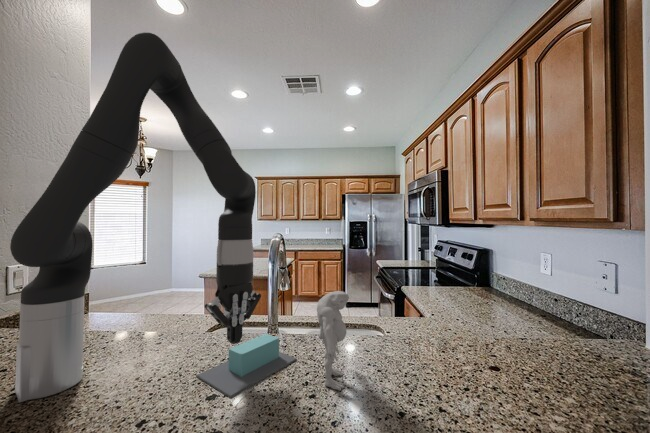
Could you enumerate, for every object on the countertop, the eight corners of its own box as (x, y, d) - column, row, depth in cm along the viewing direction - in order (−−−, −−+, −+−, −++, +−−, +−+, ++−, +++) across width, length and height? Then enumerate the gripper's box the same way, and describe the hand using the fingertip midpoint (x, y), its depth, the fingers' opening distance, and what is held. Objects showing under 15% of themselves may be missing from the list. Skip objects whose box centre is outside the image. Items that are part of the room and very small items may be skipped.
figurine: (354, 409, 48) (354, 304, 48) (316, 409, 47) (315, 304, 48) (346, 359, 65) (345, 283, 66) (317, 359, 65) (317, 283, 66)
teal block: (241, 354, 58) (279, 337, 66) (228, 349, 60) (267, 333, 69) (241, 376, 57) (279, 356, 66) (228, 370, 60) (267, 351, 69)
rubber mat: (230, 397, 51) (230, 395, 51) (196, 376, 58) (196, 375, 58) (296, 360, 65) (296, 358, 65) (263, 347, 72) (263, 345, 72)
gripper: (249, 256, 67) (248, 329, 66) (196, 262, 56) (195, 348, 56) (270, 258, 62) (270, 336, 62) (217, 265, 52) (216, 359, 51)
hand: (234, 342), depth 59 cm, fingers closed
